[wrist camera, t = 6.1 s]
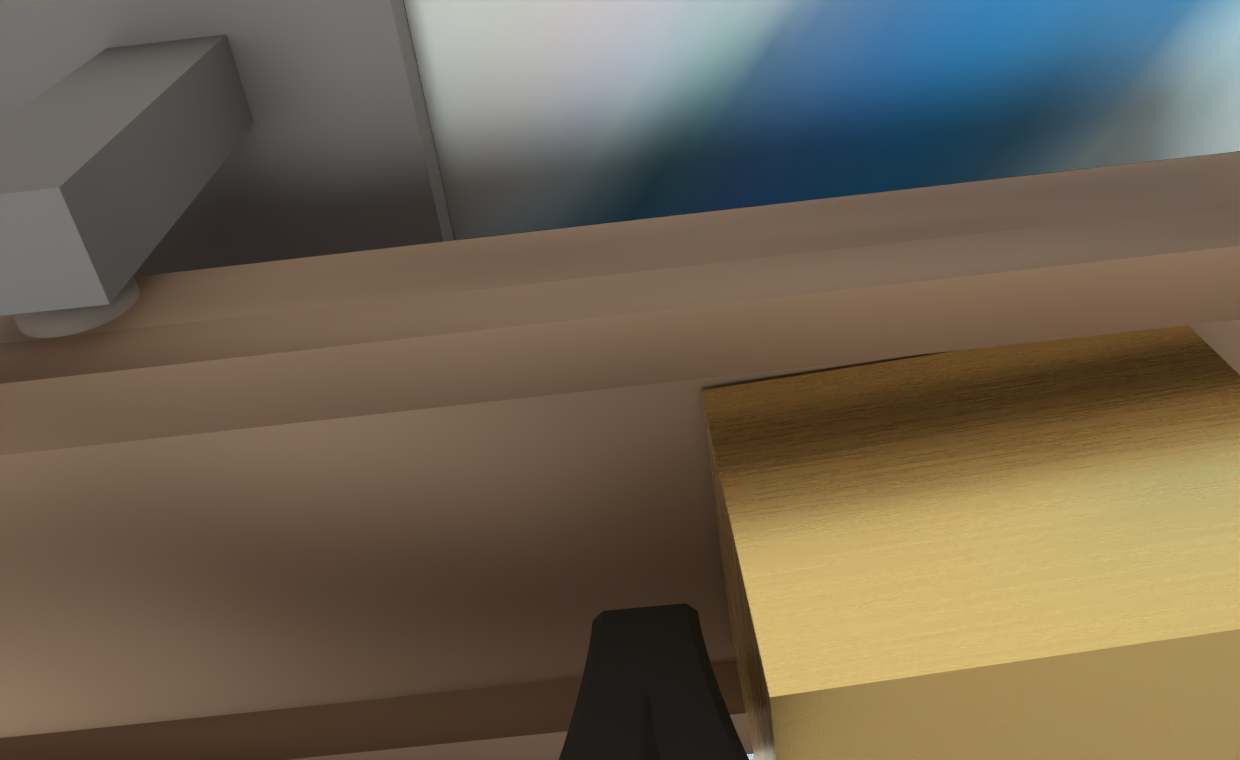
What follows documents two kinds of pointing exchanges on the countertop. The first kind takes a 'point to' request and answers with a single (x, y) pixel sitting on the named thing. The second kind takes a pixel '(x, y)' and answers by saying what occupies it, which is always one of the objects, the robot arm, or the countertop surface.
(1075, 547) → the block
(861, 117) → the countertop surface
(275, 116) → the stand
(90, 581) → the beam
